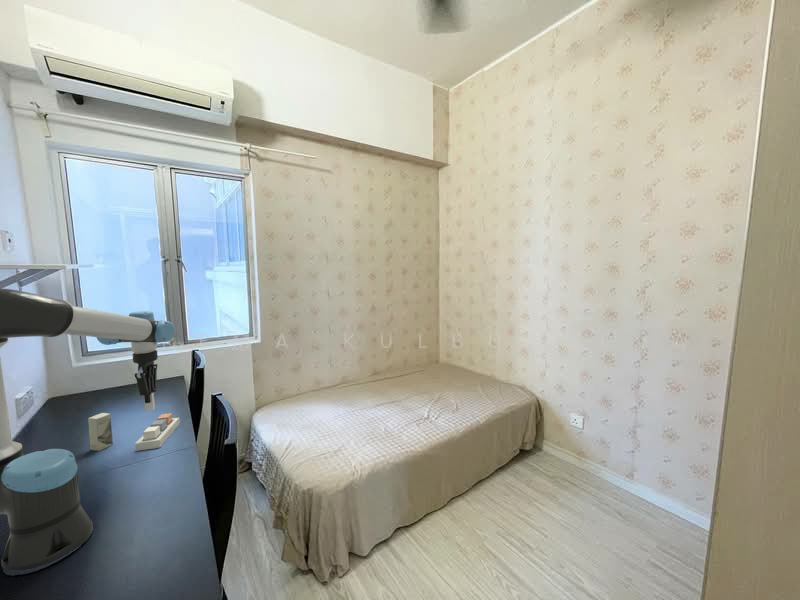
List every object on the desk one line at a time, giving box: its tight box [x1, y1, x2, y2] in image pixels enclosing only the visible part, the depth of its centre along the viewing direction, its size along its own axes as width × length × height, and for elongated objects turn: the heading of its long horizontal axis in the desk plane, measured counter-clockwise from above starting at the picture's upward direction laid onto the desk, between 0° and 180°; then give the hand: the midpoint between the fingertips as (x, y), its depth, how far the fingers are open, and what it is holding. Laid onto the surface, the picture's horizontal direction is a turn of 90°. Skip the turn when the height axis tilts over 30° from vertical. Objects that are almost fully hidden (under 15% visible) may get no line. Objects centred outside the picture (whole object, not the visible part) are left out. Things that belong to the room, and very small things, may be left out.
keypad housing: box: [134, 417, 181, 452], centre depth 132 cm, size 20×8×3 cm, turn 16°
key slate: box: [149, 419, 167, 431], centre depth 131 cm, size 4×4×3 cm
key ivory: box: [142, 426, 160, 440], centre depth 126 cm, size 4×4×3 cm
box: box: [87, 412, 114, 452], centre depth 123 cm, size 5×4×13 cm
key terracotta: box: [156, 412, 173, 425], centre depth 137 cm, size 4×4×3 cm
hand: (150, 409), depth 125 cm, fingers closed
